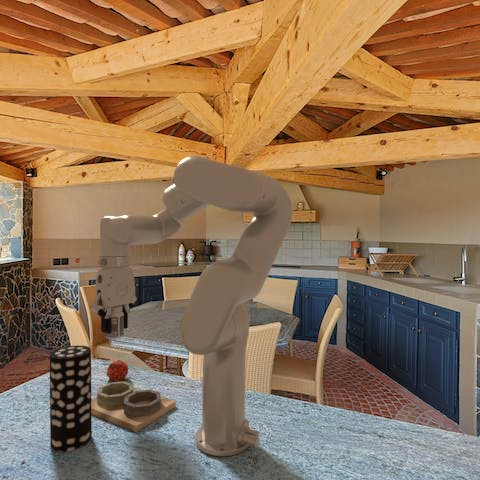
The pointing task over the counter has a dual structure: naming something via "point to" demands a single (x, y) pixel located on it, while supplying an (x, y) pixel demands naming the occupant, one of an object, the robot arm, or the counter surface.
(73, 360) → the spotted tube
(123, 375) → the decorative stone
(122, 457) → the counter surface
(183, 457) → the counter surface
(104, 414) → the socket board
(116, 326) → the pill bottle
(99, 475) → the counter surface
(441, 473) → the counter surface
